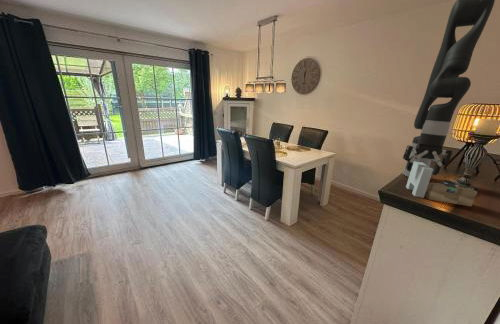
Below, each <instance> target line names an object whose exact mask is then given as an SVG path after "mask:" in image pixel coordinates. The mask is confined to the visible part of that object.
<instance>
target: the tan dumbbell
mask: <svg viewBox="0 0 500 324" xmlns="http://www.w3.org/2000/svg"><path fill="white" fill-rule="evenodd" d="M438 183H439V182H437V183H436V182H430V181H429V184H428V187H427V190H426V193H425V197H426V198H427V199H428V200H432V201H436V202H442V203H450V204H455V205H461V206H466V207H472V205H473V203H474V202H475V199H476V196H477V195H478V191H477V190H476V189H475V190H474V189H471V188H464V187H457V190H456V193H455V194H454V193H448V192H446V191H447V188H448V187H447V186H445V185H444V184H438Z"/></svg>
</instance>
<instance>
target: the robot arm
mask: <svg viewBox="0 0 500 324" xmlns="http://www.w3.org/2000/svg"><path fill="white" fill-rule="evenodd" d="M495 1H496V0H456V1H455V2H454V4H453V5H452V8H451V10H450V13H449V16H448V20H447V23H446V27H445V31H444V33H443V38H442V40H441V41H442V42H441V45H440V48H439V50H438V54H437V56H436V60H435V62H434V65H433V68H432V70H431V74H430V76H429V79H428V83H427V86H426V90H425V92H424V96H423V99H422V102H421V103H420V107H419V109H418V112H417V113H416V116H415V120H414V123H413V126H414V128H415V129H416V130H421V131H420V135H418V136H415V137H413V139H412V141H411V145H410V144H409V145H407V146H406V148H405V150H404V154H403V156H402V159H403V160H405V161H406V162H405V165H404V169H403V172H402V175H403V174H404V175H405V176H404V175H403V176H404V177H406V176H407V177H406V178H409V175H410V172H411V169H412V166H413V163H414V161H415V162H422V163H424V164H426V165H427V166H429V167H430V166H431V163H432V161H433V162H434V165H433V167H432V169H433V172H432V175H433V176H437V175H439V173H440V171H441V168H442V167H443V166H449V165H450V161H451V158H452V154H453V151H452V149H443V147H444V144H445V142H446V139H447V136H448V134H449V130H450V125H451V121H452V119H453V115H454V113H455V111H456V108H457V106H458V105H459V104H460V102H461V101H462V99H463V98H464V96H465V95H466V94H467V93H468V91H469V90H470V88H471V85H472V81H471V80H470V79H471V78H469V77H468V76H467V77H466V76H461V75H463V74H464V73H466V72H467V70H468V69H469V66H470V63H471V59H472V57H473V54H474V51H475V48H476V45H477V43H478V41H479V39H480V37H481V35H482V33H483V31H484V29H485V27H486V24H487V22H488V20H489V17H490V15H491V13H492V11H493V9H494V5H495ZM469 26H472V27H471V29H470V30H469V31H467V33H465V35H463V36H462V37H461V38H460V39H459V40H457V37H456V30H457V28H458V27H459V28H461V27H469ZM439 98H440V99H442V98H443V99H449V98H451V99H450V100H448V102H446V103H445V102H444V103H437V104H433V103H434V102H435V101H436V100H437V99H439ZM432 104H433V105H432ZM441 154H442V159H441V158H440V157H439V156H440V155H441Z"/></svg>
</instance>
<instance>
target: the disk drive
mask: <svg viewBox="0 0 500 324" xmlns="http://www.w3.org/2000/svg"><path fill="white" fill-rule="evenodd" d="M437 183H438V184H444V185H445V186H447V187H448V188H447V191H446V192H448V193H454V194H455V193H456V190H457V187H462V186H458V185H456V184H455V183H456V182H453V180H449V179H444V180H442V181H439V182H437ZM471 187H472V189H475V190H476V187H474V186H471Z"/></svg>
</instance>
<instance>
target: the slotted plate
mask: <svg viewBox="0 0 500 324" xmlns="http://www.w3.org/2000/svg"><path fill="white" fill-rule="evenodd" d="M432 172H433V167H430V166H427V165H426V164H424V163H422V162H415V161H414V163H413V166H412V169H411V172H410V175H409V177H408V179H407V183H406V185H405V188H406V189H407V190H409V191H412V193H411V194H412V195H413V197H417V198H422V199H423V198H425V196H426V193H427V190H428V187H429V184H430V180H431V177H432V175H433V174H432Z"/></svg>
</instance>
